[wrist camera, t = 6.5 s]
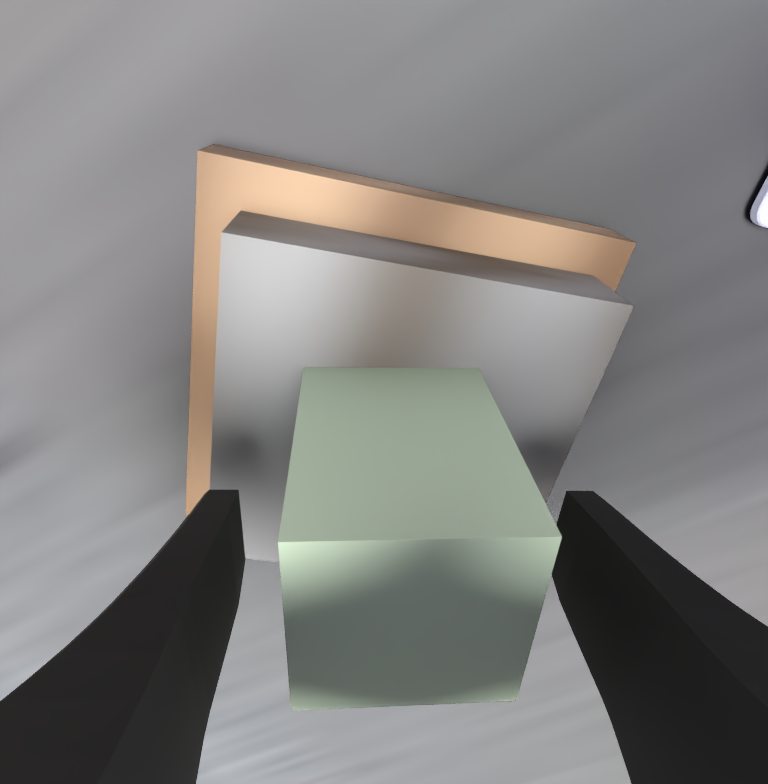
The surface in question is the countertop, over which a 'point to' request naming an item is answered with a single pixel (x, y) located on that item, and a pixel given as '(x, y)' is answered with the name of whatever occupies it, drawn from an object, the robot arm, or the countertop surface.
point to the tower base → (365, 215)
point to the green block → (408, 542)
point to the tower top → (391, 343)
